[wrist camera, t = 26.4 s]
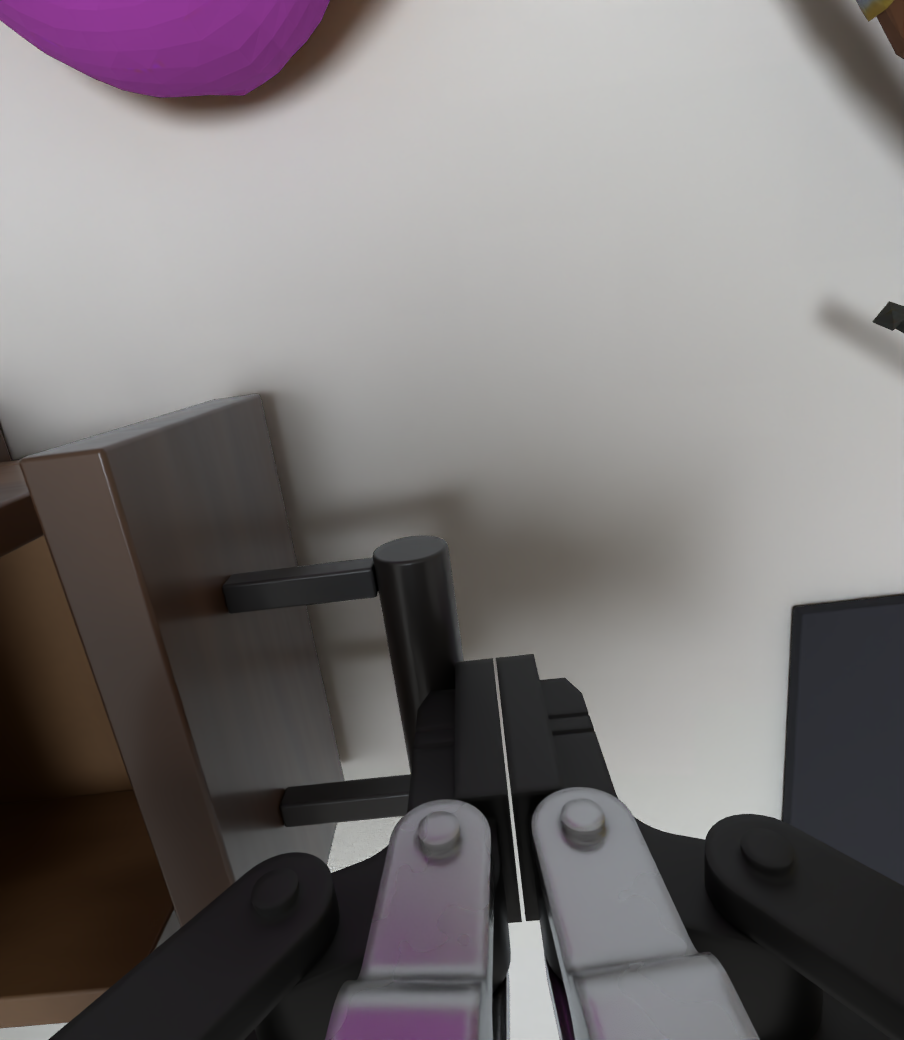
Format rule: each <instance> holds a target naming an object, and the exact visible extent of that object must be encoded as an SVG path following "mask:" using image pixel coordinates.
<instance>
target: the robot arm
mask: <svg viewBox="0 0 904 1040" xmlns="http://www.w3.org/2000/svg"><path fill="white" fill-rule="evenodd" d="M496 663H497V672H498V681H499V690H500V699H501V708H502V717H503V726H504V735H505V743H506V752H507V761H508V770H509V778H510V787H511V795H512V804H513V813H514V821H515V830H516V839H517V847H518V856H519V864H520V873H521V882H522V890H523V899H524V908H525V916H526V921H534V920H540V925H541V932H542V940H543V947H544V956H545V966H546V975H547V982H548V986H549V991H550V996H551V1001H552V1005H553V1010H554V1015H555V1019H556V1024H557V1029H558V1034H559V1038H560V1040H904V886H903V885H901V884H899V883H897V882H896V881H894V880H892V879H890V878H888V877H886V876H884V875H883V874H881V873H879V872H877V871H875V870H873V869H871V868H870V867H868V866H866V865H864V864H862V863H860V862H859V861H857V860H855V859H853V858H851V857H849V856H847V855H846V854H844V853H842V852H840V851H838V850H836V849H835V848H833V847H831V846H829V845H827V844H825V843H823V842H822V841H820V840H818V839H816V838H814V837H812V836H811V835H809V834H807V833H805V832H803V831H801V830H799V829H798V828H796V827H794V826H792V825H790V824H788V823H786V822H783V821H780V820H778V819H775V818H771V817H767V816H763V815H755V814H740V815H733V816H730V817H726V818H724V819H722V820H720V821H718V822H717V823H716V824H715V825H713V826H712V828H711V829H710V830H709V832H708V834H707V836H706V839H705V840H704V839H698V838H692V837H687V836H681V835H676V834H671V833H667V832H663V831H660V830H657V829H655V828H652V827H650V826H648V825H646V824H644V823H643V822H641V821H639V820H638V819H636V818H635V817H634V816H633V815H632V813H631V811H630V810H629V809H628V808H627V806H626V805H625V804H624V803H623V802H621V801H620V800H619V799H618V797H617V795H616V793H615V790H614V787H613V784H612V781H611V778H610V775H609V772H608V769H607V766H606V763H605V760H604V757H603V754H602V751H601V748H600V745H599V742H598V739H597V737H596V734H595V732H594V728H593V725H592V722H591V719H590V716H589V715H588V710H587V707H586V704H585V701H584V698H583V695H582V693H581V692H580V691H579V690H578V689H577V688H576V687H575V686H574V685H572V684H571V683H570V682H569V681H568V680H567V679H566V678H557V679H547V680H540V679H539V675H538V671H537V667H536V662H535V658H534V655H533V654H529V655H519V656H509V657H499V658H496ZM513 922H522V920H521V910H520V901H519V892H518V883H517V874H516V864H515V855H514V846H513V837H512V827H511V818H510V809H509V800H508V790H507V781H506V772H505V763H504V754H503V745H502V736H501V727H500V718H499V709H498V700H497V691H496V682H495V674H494V665H493V658H491V659H481V660H471V661H461V662H456V663H455V689H449V690H439V691H430V693H429V694H428V695H427V697H426V698H425V700H424V701H423V702H422V704H421V705H420V707H419V708H418V711H417V720H416V733H415V740H414V750H413V759H412V769H411V779H410V788H409V798H408V808H407V814H405V815H404V816H403V817H402V818H401V819H400V821H399V822H398V823H397V824H396V826H395V828H394V830H393V832H392V834H391V838H390V841H389V845H388V846H387V847H386V848H384V849H383V850H382V851H380V852H379V853H377V854H376V855H374V856H372V857H371V858H369V859H366V860H364V861H362V862H360V863H357V864H354V865H352V866H349V867H346V868H344V869H341V870H338V871H336V872H333V873H331V872H330V870H329V868H328V866H327V865H326V864H325V863H324V862H323V861H322V860H321V859H320V858H318V857H316V856H314V855H311V854H308V853H302V852H290V853H285V854H280V855H277V856H274V857H271V858H269V859H267V860H265V861H263V862H261V863H259V864H257V865H256V866H254V867H253V868H252V869H250V870H249V871H248V872H246V873H245V874H244V875H243V876H242V877H240V878H239V879H238V880H237V881H236V882H234V883H233V884H232V885H231V886H230V887H229V888H227V889H226V890H225V891H224V892H223V893H221V894H220V895H219V896H218V897H217V898H216V899H214V900H213V901H212V902H211V903H210V904H208V905H207V906H206V907H205V908H204V909H202V910H201V911H200V912H199V913H198V914H197V915H195V916H194V917H193V918H192V919H191V920H189V921H188V922H187V923H186V924H185V925H184V926H182V927H181V928H180V929H179V930H178V931H176V932H175V933H174V934H173V935H172V936H171V937H169V938H168V939H167V940H166V941H165V942H163V943H162V944H161V945H160V946H159V947H158V948H156V949H155V950H154V951H153V952H152V953H150V954H149V955H148V956H147V957H146V958H145V959H143V960H142V961H141V962H140V963H139V964H137V965H136V966H135V967H134V968H133V969H131V970H130V971H129V972H128V973H127V974H126V975H124V976H123V977H122V978H121V979H120V980H118V981H117V982H116V983H115V984H114V985H113V986H111V987H110V988H109V989H108V990H107V991H105V992H104V993H103V994H102V995H101V996H100V997H98V998H97V999H96V1000H95V1001H94V1002H92V1003H91V1004H90V1005H89V1006H88V1007H87V1008H85V1009H84V1010H83V1011H82V1012H81V1013H79V1014H78V1015H77V1016H76V1017H75V1018H74V1019H72V1020H71V1021H70V1022H69V1023H68V1024H66V1025H65V1026H64V1027H63V1028H62V1029H61V1030H59V1031H58V1032H57V1033H56V1034H55V1035H53V1036H52V1037H51V1038H50V1039H49V1040H510V986H509V973H508V969H509V965H510V940H509V928H508V923H513Z"/></svg>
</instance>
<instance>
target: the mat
mask: <svg viewBox="0 0 904 1040" xmlns="http://www.w3.org/2000/svg"><path fill="white" fill-rule="evenodd" d="M783 822H786V823H788V824H790V825H792V826H794V827H796V828H798V829H799V830H801V831H803V832H805V833H807V834H809V835H811V836H812V837H814V838H816V839H818V840H820V841H822V842H823V843H825V844H827V845H829V846H831V847H833V848H835V849H836V850H838V851H840V852H842V853H844V854H846V855H847V856H849V857H851V858H853V859H855V860H857V861H859V862H860V863H862V864H864V865H866V866H868V867H870V868H871V869H873V870H875V871H877V872H879V873H881V874H883V875H884V876H886V877H888V878H890V879H892V880H894V881H896V882H897V883H899V884H901V885H903V886H904V595H900V596H891V597H881V598H872V599H863V600H854V601H845V602H836V603H827V604H818V605H809V606H800V607H794V608H793V626H792V646H791V666H790V686H789V706H788V726H787V746H786V766H785V786H784V805H783Z"/></svg>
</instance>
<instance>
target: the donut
mask: <svg viewBox="0 0 904 1040" xmlns="http://www.w3.org/2000/svg"><path fill="white" fill-rule="evenodd" d="M329 1H330V0H0V20H1V21H2V22H3V23H5V24H6V25H7V26H8V27H10V28H11V29H12V30H14V31H15V32H16V33H18V34H19V35H20V36H22V37H23V38H25V39H26V40H27V41H29V42H30V43H31V44H33V45H34V46H36V47H37V48H38V49H40V50H41V51H43V52H44V53H46V54H47V55H49V56H51V57H53V58H55V59H57V60H59V61H61V62H63V63H65V64H67V65H69V66H71V67H72V68H74V69H76V70H78V71H80V72H82V73H84V74H86V75H88V76H90V77H92V78H94V79H97V80H99V81H102V82H104V83H107V84H109V85H112V86H114V87H117V88H119V89H121V90H125V91H129V92H134V93H139V94H144V95H149V96H154V97H186V96H201V95H245V94H247V93H249V92H250V91H252V90H254V89H255V88H257V87H259V86H260V85H262V84H263V83H265V82H266V81H268V80H269V79H270V78H272V77H273V76H275V75H276V74H277V73H279V72H280V71H281V69H282V68H283V67H284V66H285V64H286V63H287V62H288V61H289V59H290V58H291V57H292V56H293V55H294V54H295V53H296V52H297V51H298V50H299V49H300V48H301V47H302V46H303V45H304V44H305V43H306V41H307V40H308V39H309V37H310V36H311V34H312V33H313V31H314V30H315V29H316V27H317V26H318V24H319V23H320V22H321V20H322V18H323V15H324V13H325V11H326V8H327V6H328V4H329Z"/></svg>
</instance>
